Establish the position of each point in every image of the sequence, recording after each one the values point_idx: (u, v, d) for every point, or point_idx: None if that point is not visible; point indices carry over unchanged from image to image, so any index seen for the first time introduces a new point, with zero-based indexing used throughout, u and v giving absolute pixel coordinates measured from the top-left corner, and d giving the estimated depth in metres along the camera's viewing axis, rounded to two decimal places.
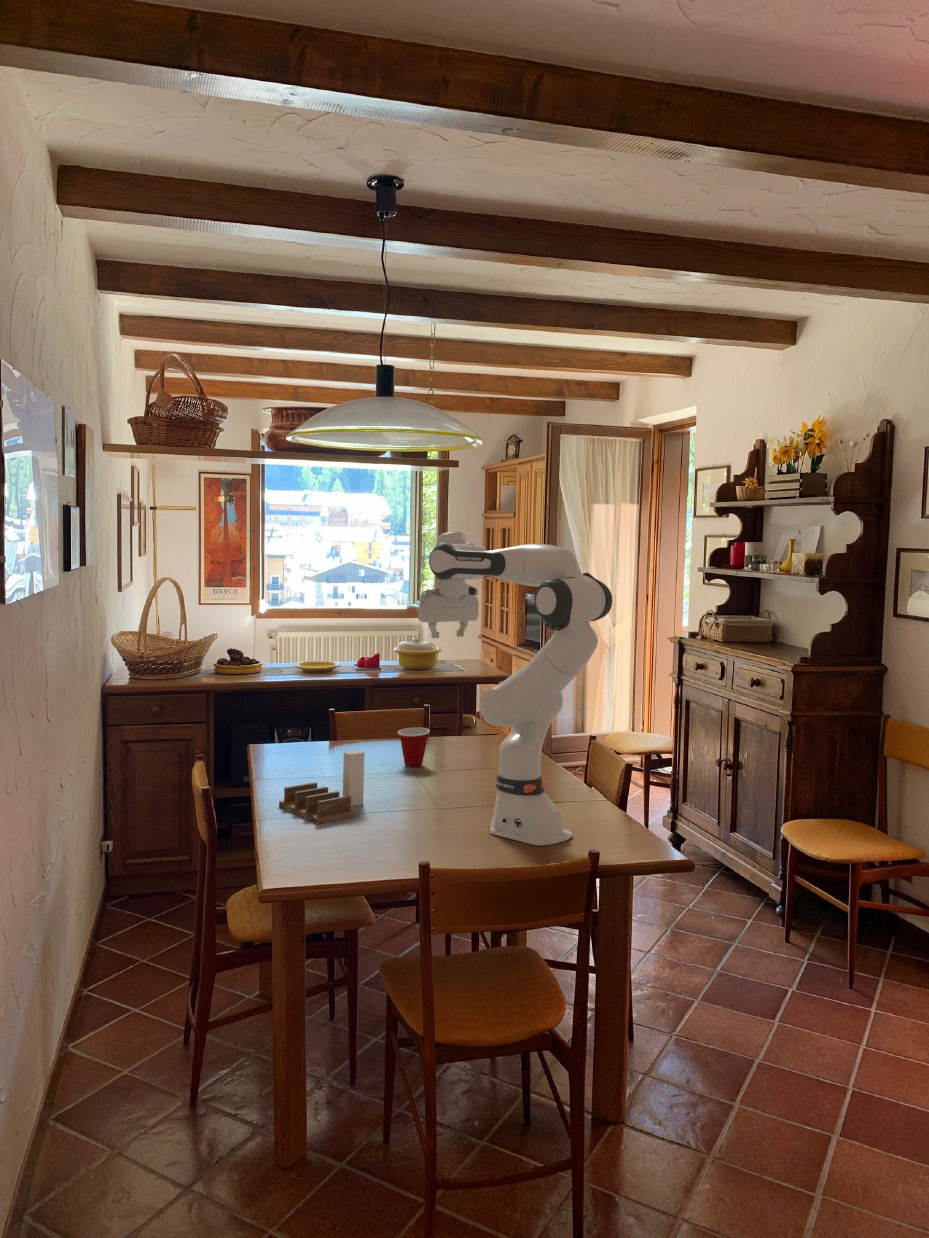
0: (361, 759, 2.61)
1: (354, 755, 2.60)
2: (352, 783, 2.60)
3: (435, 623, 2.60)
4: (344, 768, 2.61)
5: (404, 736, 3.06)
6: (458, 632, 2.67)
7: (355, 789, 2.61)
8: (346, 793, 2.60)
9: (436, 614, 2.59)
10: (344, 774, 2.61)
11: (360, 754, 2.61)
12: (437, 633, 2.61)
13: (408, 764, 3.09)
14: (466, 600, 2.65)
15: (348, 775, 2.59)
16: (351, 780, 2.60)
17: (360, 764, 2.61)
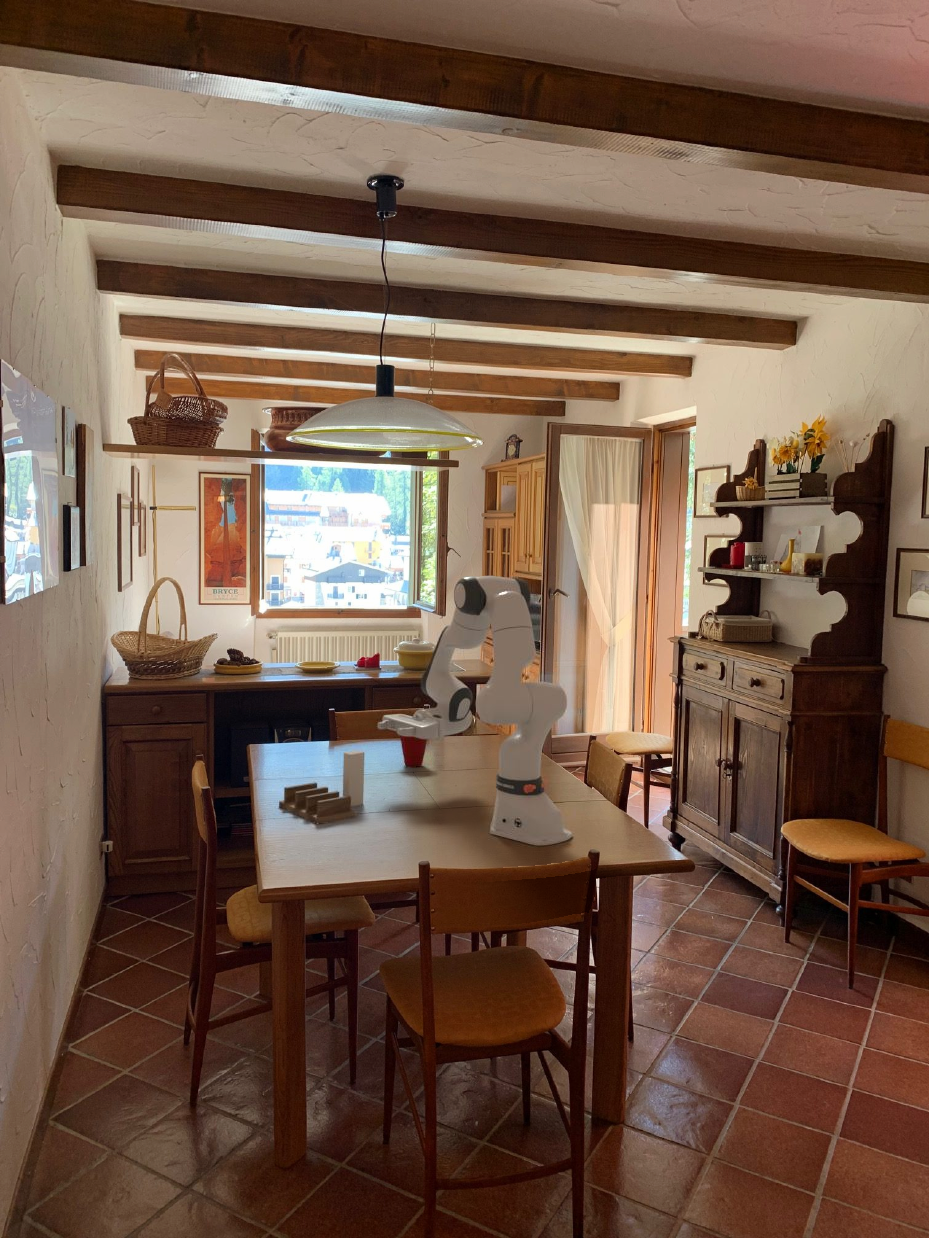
0: (361, 759, 2.61)
1: (354, 755, 2.60)
2: (352, 783, 2.60)
3: (388, 720, 2.76)
4: (344, 768, 2.61)
5: (404, 736, 3.06)
6: None
7: (355, 789, 2.61)
8: (346, 793, 2.60)
9: (395, 716, 2.78)
10: (344, 774, 2.61)
11: (360, 754, 2.61)
12: (383, 722, 2.73)
13: (408, 764, 3.09)
14: (427, 720, 2.72)
15: (348, 775, 2.59)
16: (351, 780, 2.60)
17: (360, 764, 2.61)
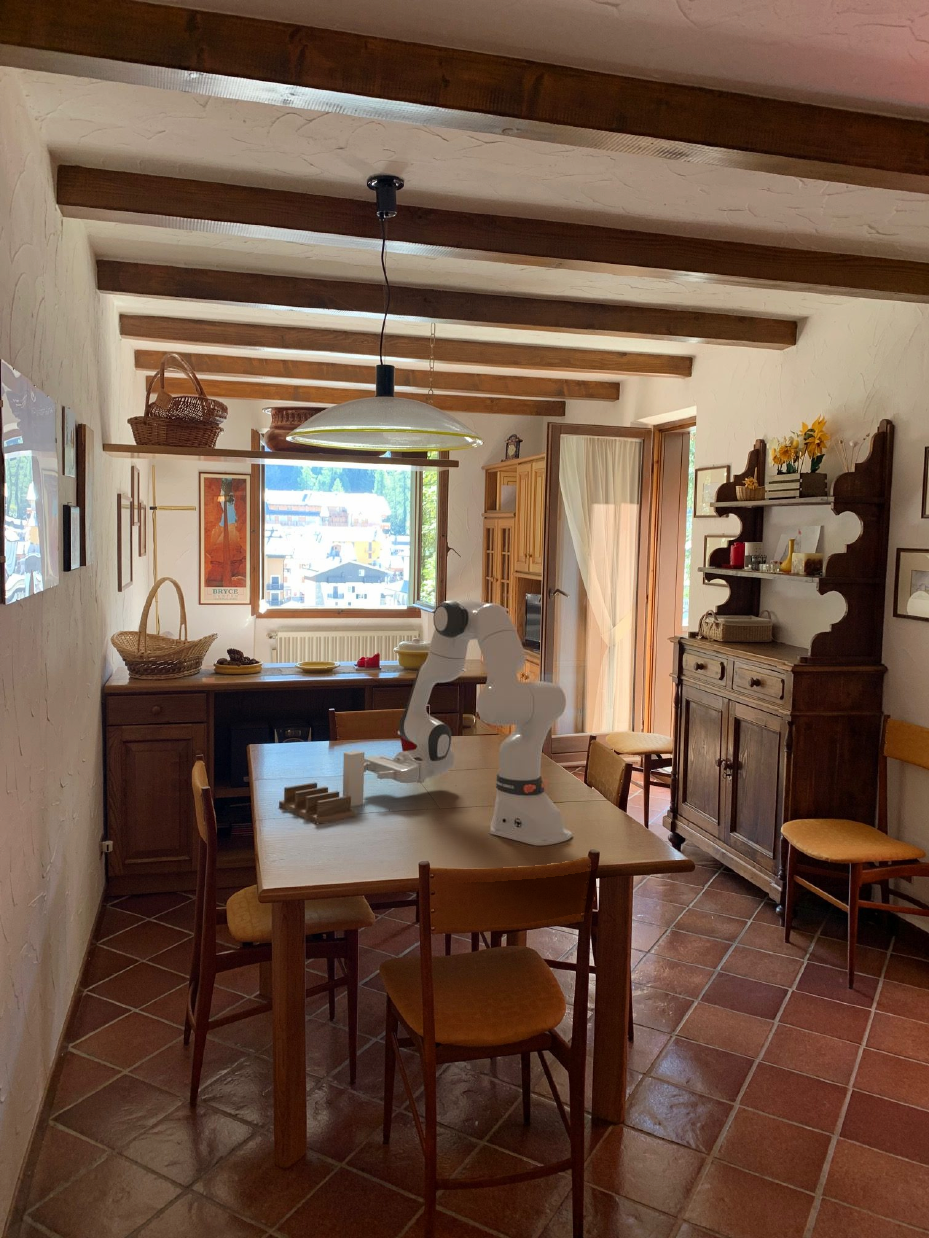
0: (361, 759, 2.61)
1: (354, 755, 2.60)
2: (352, 783, 2.60)
3: (369, 762, 2.72)
4: (344, 768, 2.61)
5: None
6: None
7: (355, 789, 2.61)
8: (346, 793, 2.60)
9: (376, 759, 2.74)
10: (344, 774, 2.61)
11: (360, 754, 2.61)
12: None
13: None
14: (408, 763, 2.69)
15: (348, 775, 2.59)
16: (351, 780, 2.60)
17: (360, 764, 2.61)
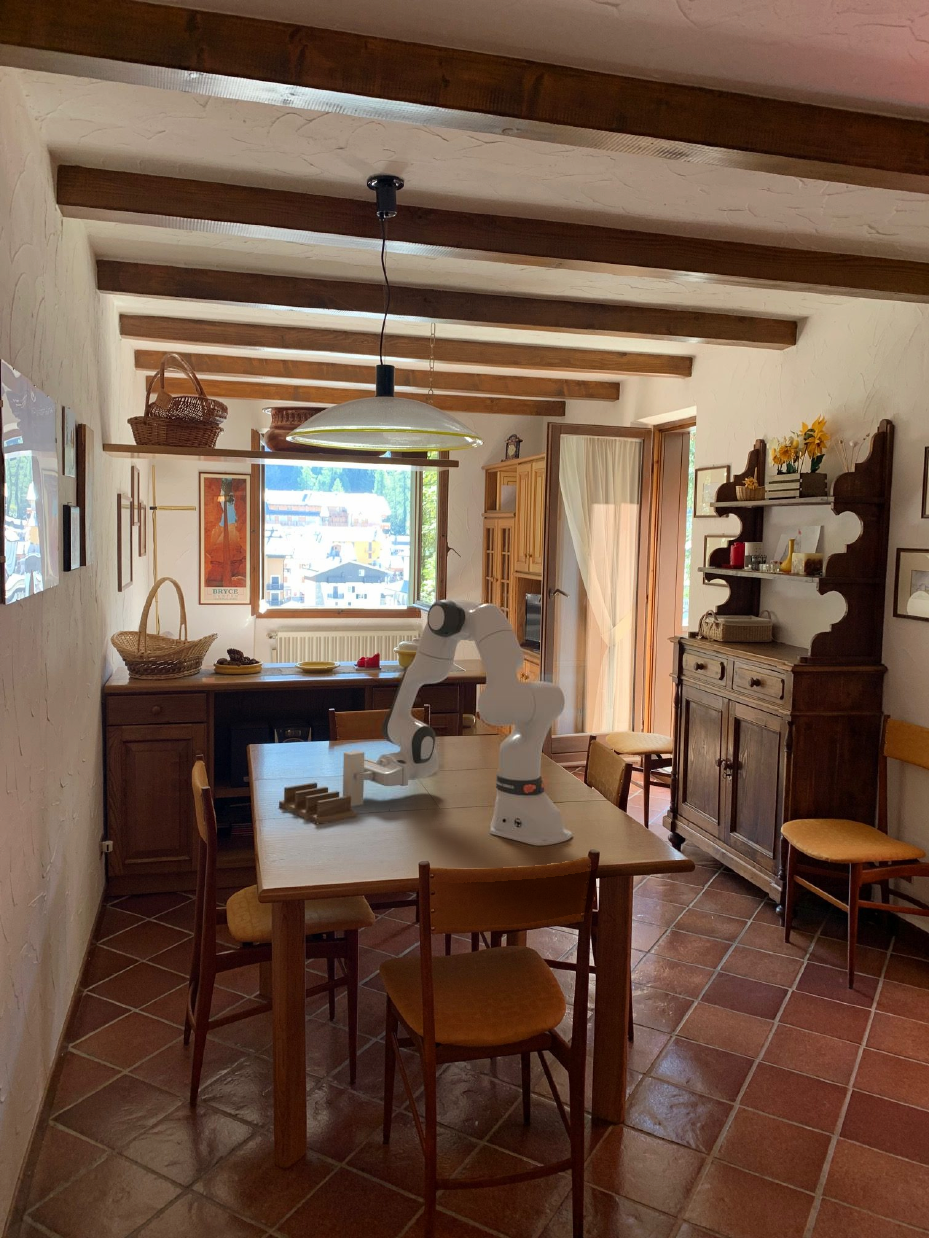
0: (361, 759, 2.61)
1: (354, 755, 2.60)
2: (352, 783, 2.60)
3: None
4: (344, 768, 2.61)
5: None
6: None
7: (355, 789, 2.61)
8: (346, 793, 2.60)
9: None
10: (344, 774, 2.61)
11: (360, 754, 2.61)
12: None
13: None
14: (391, 765, 2.65)
15: (348, 775, 2.59)
16: (351, 780, 2.60)
17: (360, 764, 2.61)
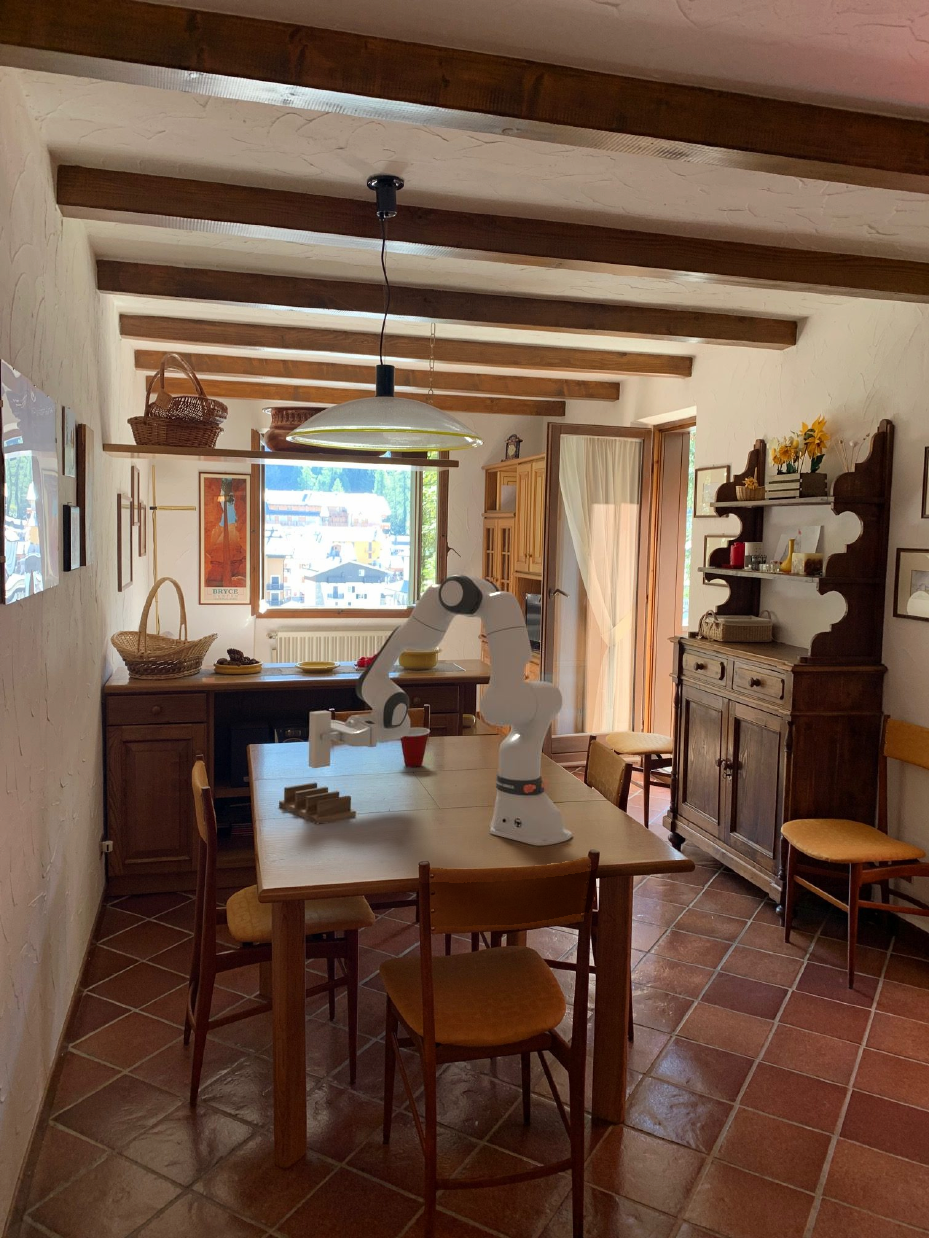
0: (328, 718, 2.53)
1: (320, 715, 2.51)
2: (318, 744, 2.52)
3: None
4: (310, 728, 2.52)
5: (404, 736, 3.06)
6: None
7: (322, 750, 2.52)
8: (312, 754, 2.52)
9: None
10: (310, 734, 2.52)
11: (327, 714, 2.53)
12: None
13: (408, 764, 3.09)
14: (359, 726, 2.56)
15: (314, 735, 2.51)
16: (317, 740, 2.51)
17: (326, 724, 2.53)
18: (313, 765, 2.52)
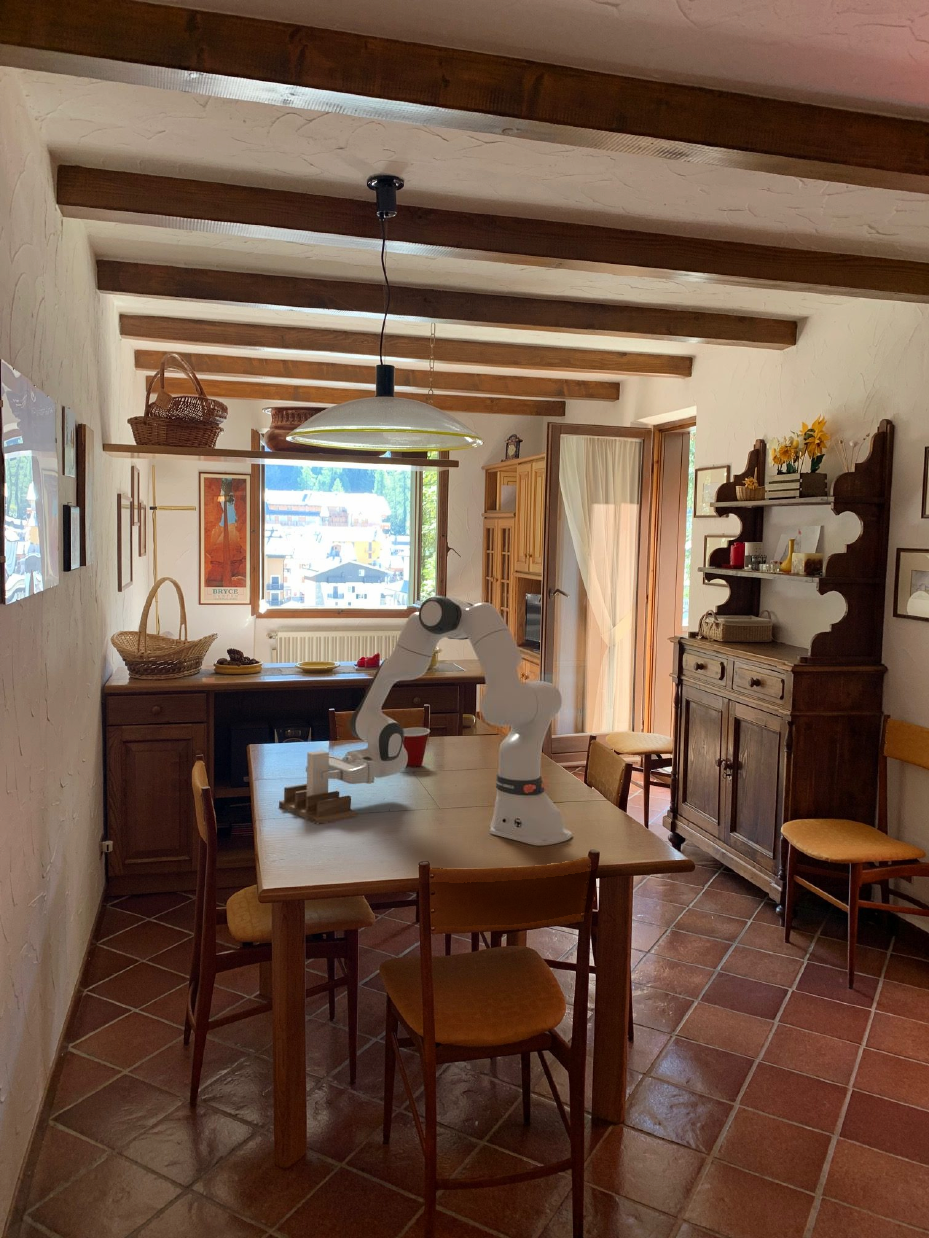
0: (326, 759, 2.53)
1: (318, 755, 2.52)
2: (316, 784, 2.52)
3: None
4: (308, 768, 2.53)
5: (404, 736, 3.06)
6: None
7: (319, 790, 2.53)
8: (310, 794, 2.52)
9: None
10: (308, 775, 2.53)
11: (324, 754, 2.53)
12: None
13: (408, 764, 3.09)
14: (357, 762, 2.56)
15: (312, 776, 2.51)
16: (314, 781, 2.51)
17: (324, 765, 2.53)
18: None
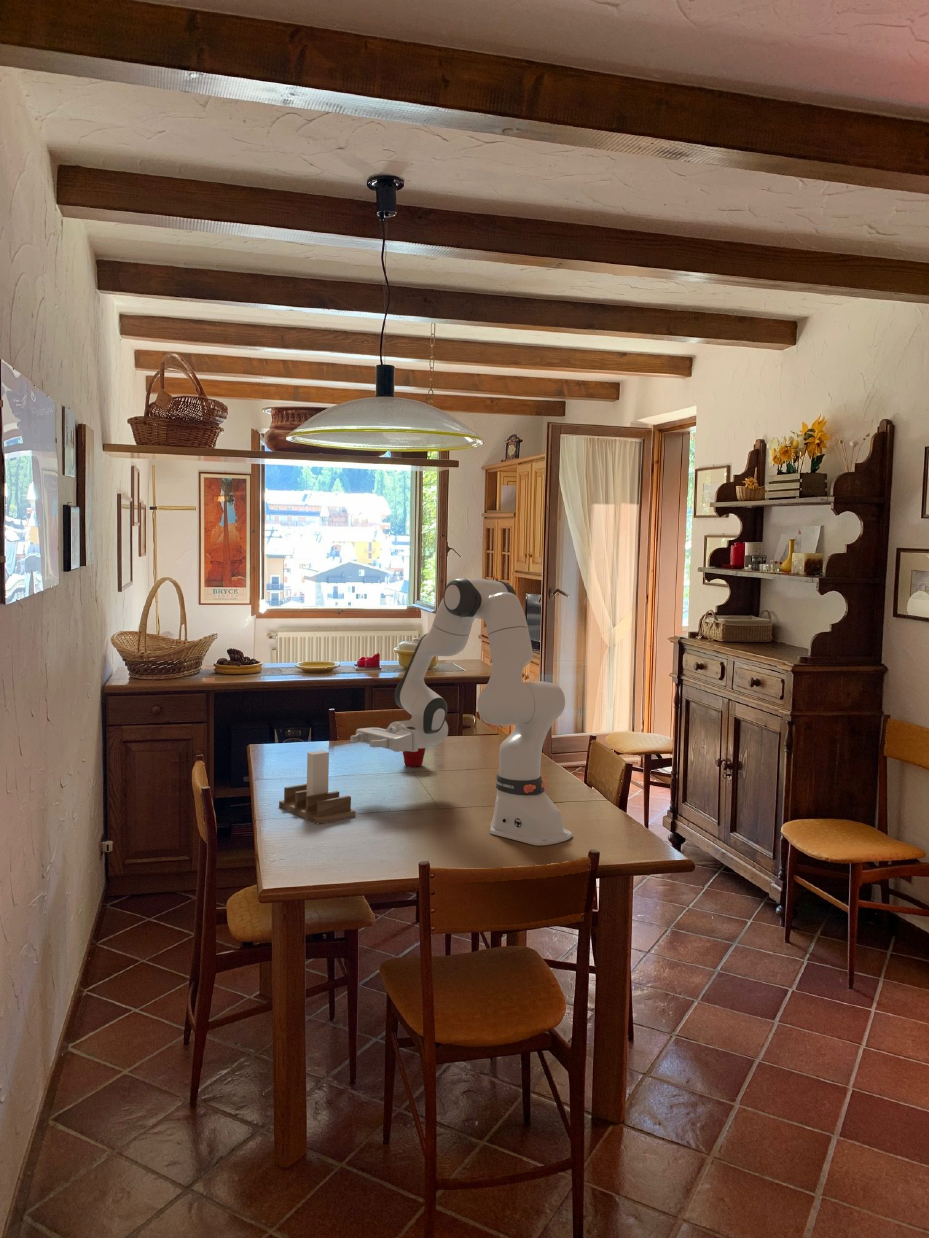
0: (326, 759, 2.53)
1: (318, 755, 2.52)
2: (316, 784, 2.52)
3: (361, 733, 2.69)
4: (308, 768, 2.53)
5: None
6: None
7: (319, 790, 2.53)
8: (310, 794, 2.52)
9: (368, 729, 2.71)
10: (308, 775, 2.53)
11: (324, 754, 2.53)
12: (355, 735, 2.66)
13: (408, 764, 3.09)
14: (401, 732, 2.65)
15: (312, 776, 2.51)
16: (314, 781, 2.51)
17: (324, 765, 2.53)
18: None
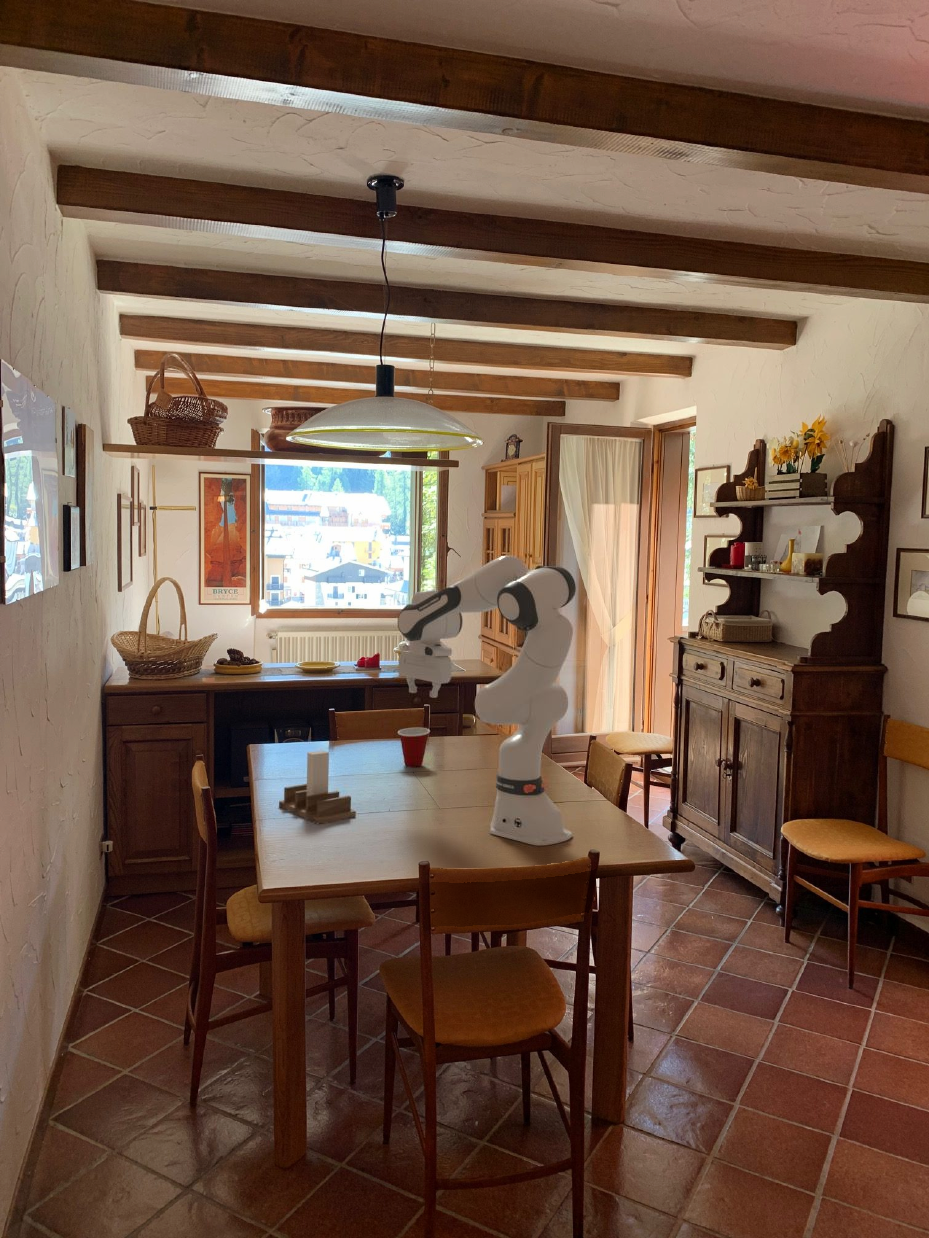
0: (326, 759, 2.53)
1: (318, 755, 2.52)
2: (316, 784, 2.52)
3: (408, 677, 2.69)
4: (308, 768, 2.53)
5: (404, 736, 3.06)
6: None
7: (319, 790, 2.53)
8: (310, 794, 2.52)
9: (405, 669, 2.69)
10: (308, 775, 2.53)
11: (324, 754, 2.53)
12: (411, 688, 2.69)
13: (408, 764, 3.09)
14: (428, 660, 2.60)
15: (312, 776, 2.51)
16: (314, 781, 2.51)
17: (324, 765, 2.53)
18: None
